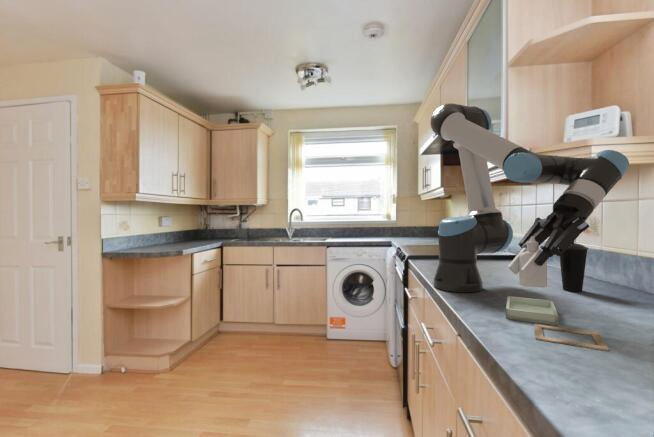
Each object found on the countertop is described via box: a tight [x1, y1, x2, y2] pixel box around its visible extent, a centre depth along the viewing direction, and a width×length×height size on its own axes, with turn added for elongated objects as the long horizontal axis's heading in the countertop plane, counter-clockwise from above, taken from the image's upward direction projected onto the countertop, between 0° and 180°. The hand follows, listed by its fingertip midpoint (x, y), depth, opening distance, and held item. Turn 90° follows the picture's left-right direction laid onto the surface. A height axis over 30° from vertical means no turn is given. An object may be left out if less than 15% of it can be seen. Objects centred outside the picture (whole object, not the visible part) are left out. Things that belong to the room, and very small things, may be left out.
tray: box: [505, 295, 559, 327], centre depth 78 cm, size 10×13×2 cm
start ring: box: [533, 323, 610, 352], centre depth 64 cm, size 11×9×1 cm
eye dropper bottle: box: [518, 236, 548, 288], centre depth 78 cm, size 4×6×12 cm
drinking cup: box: [558, 240, 589, 293], centre depth 100 cm, size 8×8×20 cm
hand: (518, 271), depth 77 cm, fingers closed on eye dropper bottle, 4 cm apart
